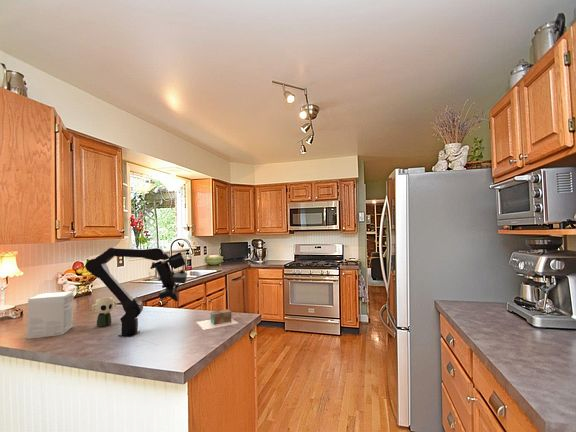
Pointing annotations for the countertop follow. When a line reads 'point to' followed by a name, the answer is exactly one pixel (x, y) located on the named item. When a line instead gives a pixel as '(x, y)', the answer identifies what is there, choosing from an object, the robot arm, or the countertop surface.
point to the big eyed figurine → (104, 310)
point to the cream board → (209, 325)
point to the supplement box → (49, 314)
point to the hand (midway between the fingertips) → (177, 300)
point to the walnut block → (220, 317)
